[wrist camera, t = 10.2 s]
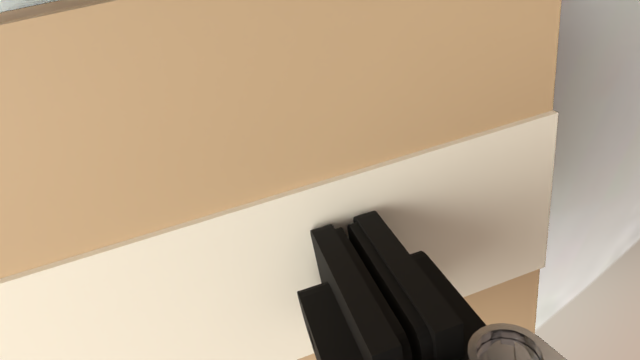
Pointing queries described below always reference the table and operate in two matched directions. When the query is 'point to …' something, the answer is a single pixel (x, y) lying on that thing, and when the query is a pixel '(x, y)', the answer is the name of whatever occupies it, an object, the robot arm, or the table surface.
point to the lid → (262, 164)
